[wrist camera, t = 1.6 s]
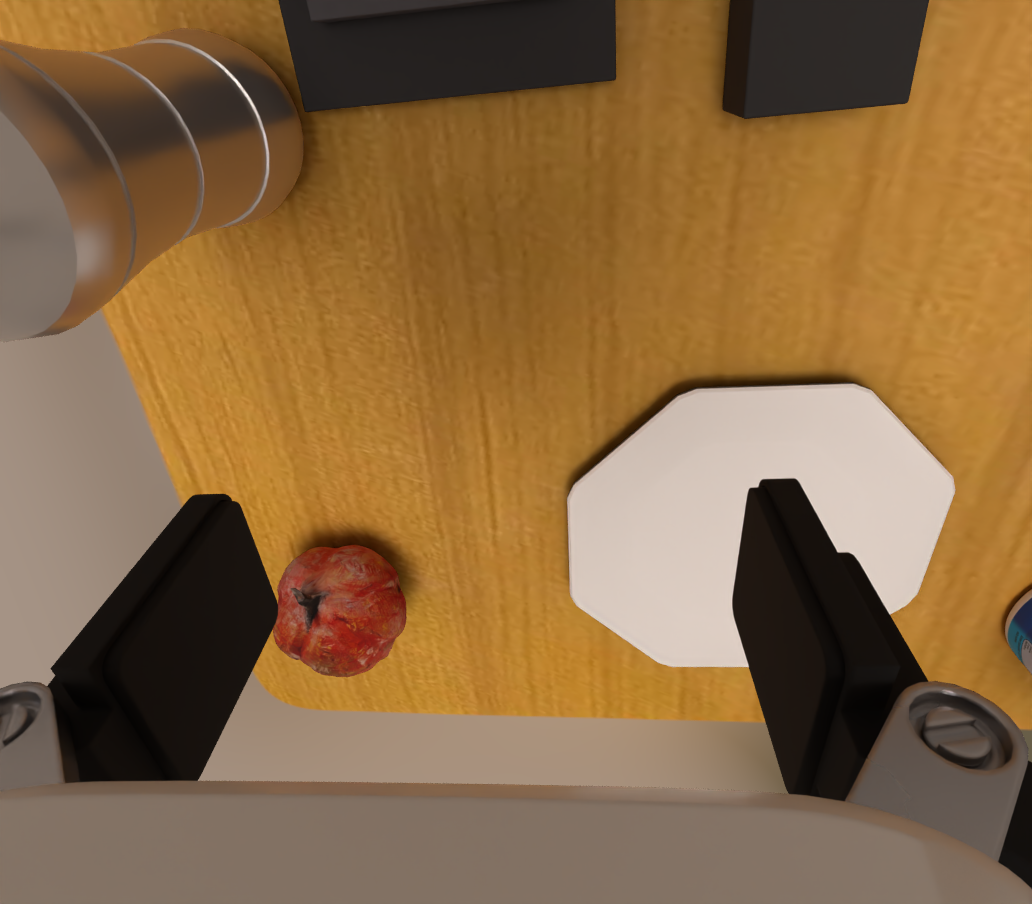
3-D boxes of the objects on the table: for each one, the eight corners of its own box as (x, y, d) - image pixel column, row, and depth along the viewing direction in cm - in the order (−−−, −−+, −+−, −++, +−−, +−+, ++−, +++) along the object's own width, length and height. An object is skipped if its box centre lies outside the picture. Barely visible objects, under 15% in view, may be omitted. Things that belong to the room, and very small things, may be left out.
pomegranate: (434, 570, 42) (398, 537, 33) (410, 686, 40) (364, 685, 31) (327, 554, 43) (263, 517, 34) (298, 667, 41) (220, 660, 31)
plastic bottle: (273, 6, 24) (-380, -94, 7) (344, 189, 28) (7, 408, 11) (130, 59, 26) (-712, 76, 9) (214, 228, 29) (-272, 479, 12)
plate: (881, 649, 41) (891, 668, 40) (571, 649, 42) (572, 667, 41) (980, 366, 30) (998, 380, 29) (564, 380, 32) (564, 394, 31)
